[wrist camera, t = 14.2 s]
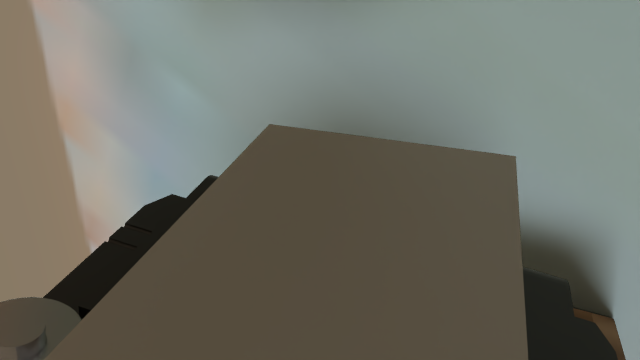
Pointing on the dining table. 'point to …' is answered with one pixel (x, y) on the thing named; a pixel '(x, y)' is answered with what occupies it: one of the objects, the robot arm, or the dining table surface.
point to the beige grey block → (328, 260)
